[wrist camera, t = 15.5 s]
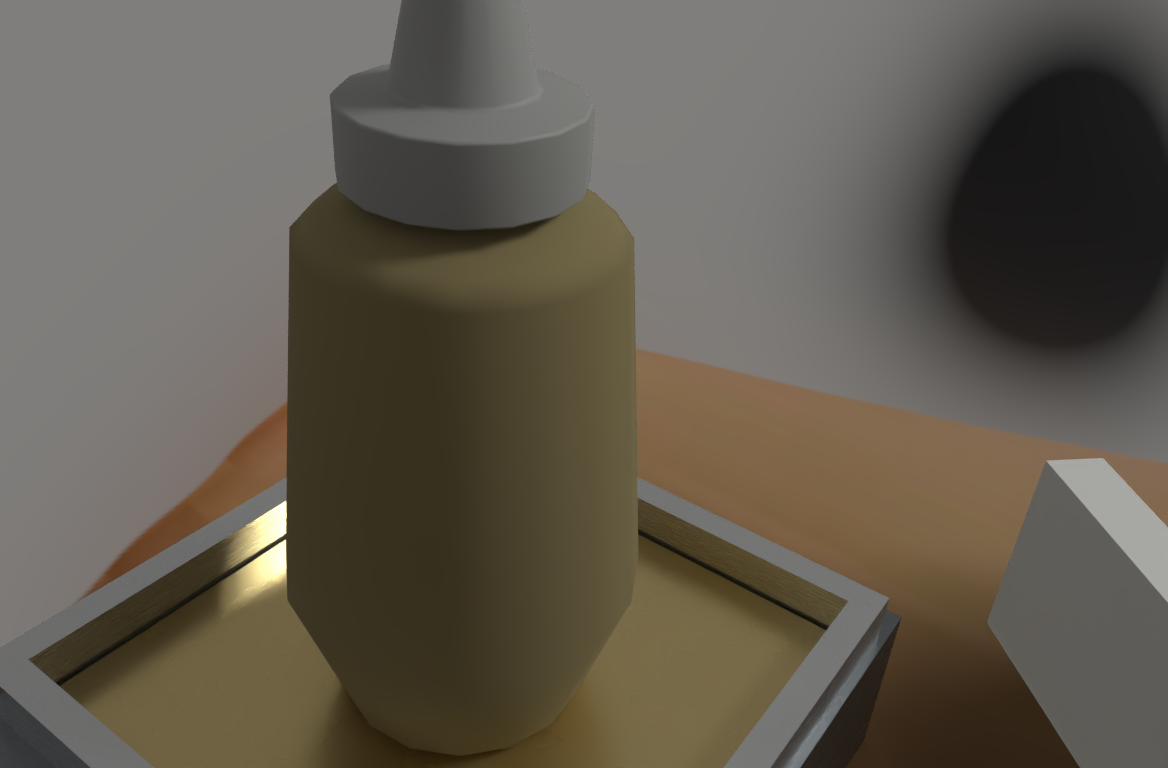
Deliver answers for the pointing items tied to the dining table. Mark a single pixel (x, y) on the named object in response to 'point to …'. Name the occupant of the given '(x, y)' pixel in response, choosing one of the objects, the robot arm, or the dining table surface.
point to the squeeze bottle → (461, 390)
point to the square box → (381, 764)
